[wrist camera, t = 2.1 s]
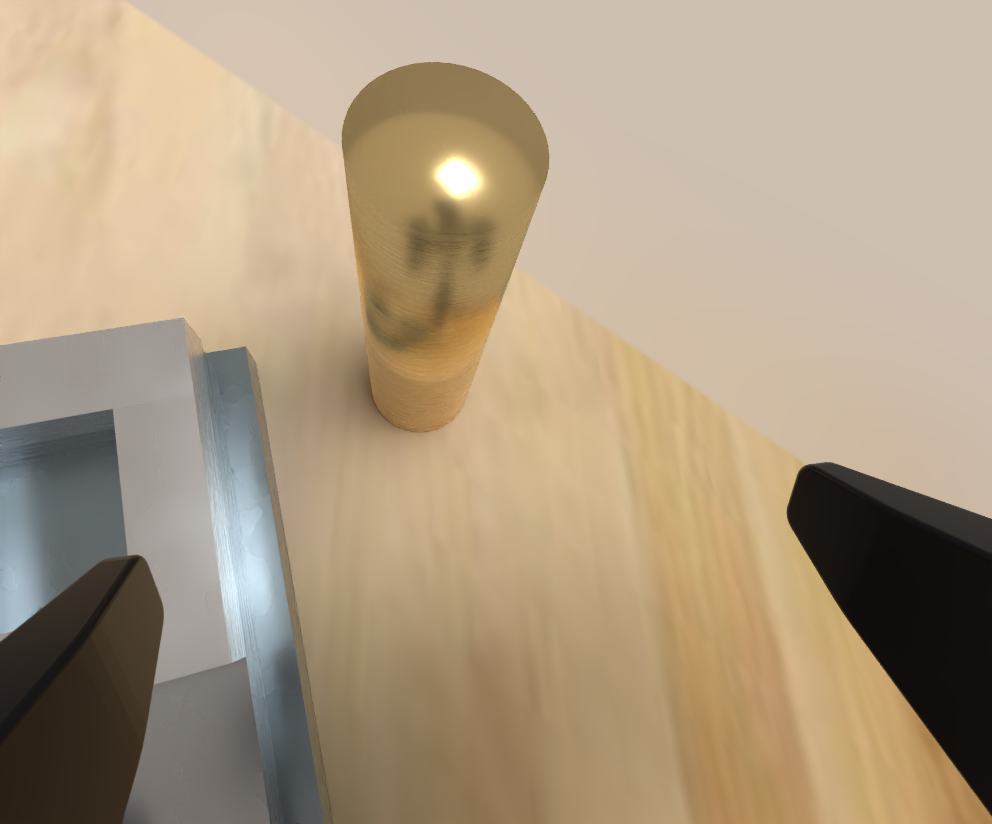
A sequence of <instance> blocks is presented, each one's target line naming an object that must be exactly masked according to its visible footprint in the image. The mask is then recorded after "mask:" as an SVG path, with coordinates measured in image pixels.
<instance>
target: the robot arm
mask: <svg viewBox="0 0 992 824" xmlns="http://www.w3.org/2000/svg"><path fill="white" fill-rule="evenodd" d="M787 519H788V522H789V524H790V526H791V528H792V530H793V531H794V533H795V535H796V536H797V538H798V540H799V541H800V543H801V545H802V546H803V548H804V550H805V551H806V553H807V555H808V556H809V558H810V560H811V561H812V563H813V565H814V566H815V568H816V570H817V571H818V573H819V575H820V576H821V578H822V580H823V581H824V583H825V585H826V586H827V588H828V590H829V591H830V593H831V595H832V596H833V598H834V600H835V601H836V603H837V604H838V606H839V607H840V609H841V611H842V612H843V614H844V615H845V616H846V618H847V619H848V621H849V622H850V624H851V625H852V626H853V628H854V629H855V631H856V632H857V633H858V635H859V636H860V637H861V639H862V640H863V642H864V643H865V644H866V646H867V647H868V648H869V650H870V651H871V652H872V654H873V655H874V657H875V658H876V659H877V661H878V662H879V663H880V665H881V666H882V667H883V669H884V670H885V672H886V673H887V674H888V676H889V677H890V678H891V680H892V681H893V682H894V684H895V685H896V687H897V688H898V689H899V691H900V692H901V693H902V695H903V696H904V698H905V699H906V700H907V702H908V703H909V704H910V706H911V707H912V708H913V710H914V711H915V713H916V714H917V715H918V717H919V718H920V719H921V721H922V722H923V723H924V725H925V726H926V728H927V729H928V730H929V732H930V733H931V734H932V736H933V737H934V738H935V740H936V741H937V743H938V744H939V745H940V747H941V748H942V749H943V751H944V752H945V753H946V755H947V756H948V758H949V759H950V760H951V762H952V763H953V764H954V766H955V767H956V768H957V770H958V771H959V773H960V774H961V775H962V777H963V778H964V779H965V781H966V782H967V784H968V785H969V786H970V788H971V789H972V790H973V792H974V793H975V794H976V796H977V797H978V799H979V800H980V801H981V803H982V804H983V805H984V807H985V808H986V809H987V811H988V812H989V814H990V815H991V816H992V519H991V518H987V517H985V516H982V515H979V514H976V513H974V512H971V511H968V510H965V509H962V508H959V507H957V506H954V505H951V504H948V503H945V502H942V501H940V500H937V499H934V498H931V497H928V496H926V495H923V494H920V493H917V492H914V491H911V490H908V489H906V488H903V487H900V486H897V485H894V484H891V483H889V482H886V481H883V480H880V479H877V478H875V477H872V476H869V475H866V474H863V473H860V472H858V471H855V470H852V469H849V468H846V467H844V466H841V465H838V464H835V463H831V462H824V463H817V464H809V465H806V466H804V467H802V468H801V469H800V471H799V472H798V474H797V478H796V481H795V484H794V487H793V490H792V493H791V497H790V500H789V503H788V506H787ZM163 623H164V608H163V603H162V600H161V597H160V594H159V592H158V589H157V586H156V584H155V581H154V578H153V576H152V573H151V570H150V568H149V565H148V563H147V561H146V560H145V558H144V557H142V556H140V555H128V556H121V557H113V558H107V559H104V560H102V561H100V562H99V563H97V564H96V565H95V566H93V567H92V568H91V569H90V570H88V571H87V572H86V573H85V574H83V575H82V576H81V577H80V578H78V579H77V580H76V581H75V582H73V583H72V584H71V585H70V586H68V587H67V588H66V589H65V590H63V591H62V592H61V593H60V594H59V595H57V596H56V597H55V598H54V599H52V600H51V601H50V602H49V603H47V604H46V605H45V606H44V607H42V608H41V609H40V610H39V611H37V612H36V613H35V614H34V615H32V616H31V617H30V618H29V619H27V620H26V621H25V622H24V623H22V624H21V625H20V626H19V627H17V628H16V629H15V630H14V631H12V632H11V633H10V634H9V635H7V636H6V637H5V638H4V639H3V640H1V641H0V824H122V822H123V818H124V815H125V811H126V808H127V804H128V801H129V797H130V793H131V790H132V786H133V783H134V779H135V776H136V772H137V769H138V765H139V761H140V757H141V753H142V749H143V744H144V739H145V734H146V728H147V722H148V716H149V710H150V704H151V698H152V692H153V685H154V679H155V673H156V667H157V661H158V654H159V648H160V642H161V636H162V630H163Z"/></svg>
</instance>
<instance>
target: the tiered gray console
mask: <svg viewBox="0 0 992 824" xmlns="http://www.w3.org/2000/svg"><path fill="white" fill-rule="evenodd" d="M128 555H140V556H142V557H144V558H145V560H146V561H147V563H148V565H149V568H150V570H151V573H152V576H153V578H154V581H155V584H156V586H157V589H158V592H159V594H160V597H161V600H162V603H163V608H164V623H163V630H162V636H161V642H160V648H159V654H158V661H157V667H156V673H155V679H154V685H153V692H152V698H151V704H150V710H149V716H148V722H147V728H146V734H145V739H144V744H143V749H142V753H141V757H140V761H139V765H138V769H137V772H136V776H135V779H134V783H133V786H132V790H131V793H130V797H129V801H128V804H127V808H126V811H125V815H124V818H123V822H122V824H333V822H332V816H331V810H330V804H329V798H328V792H327V786H326V780H325V774H324V768H323V762H322V756H321V750H320V744H319V738H318V732H317V726H316V720H315V714H314V708H313V702H312V696H311V690H310V684H309V678H308V672H307V666H306V660H305V654H304V648H303V642H302V636H301V630H300V624H299V618H298V612H297V606H296V600H295V594H294V588H293V582H292V576H291V570H290V564H289V558H288V552H287V546H286V540H285V534H284V528H283V522H282V516H281V510H280V504H279V498H278V492H277V486H276V480H275V474H274V468H273V462H272V456H271V450H270V444H269V438H268V433H267V427H266V421H265V415H264V409H263V403H262V397H261V391H260V385H259V379H258V373H257V367H256V362H255V361H254V359H253V358H252V356H251V354H250V353H249V351H248V350H247V348H246V347H241V348H235V349H229V350H223V351H217V352H211V353H205V352H204V351H203V349H202V347H201V340H200V338H199V337H198V336H197V334H196V333H195V332H194V331H193V329H192V328H191V327H190V325H189V324H188V323H187V322H186V320H185V319H184V318H179V319H172V320H166V321H159V322H153V323H146V324H139V325H133V326H126V327H120V328H113V329H107V330H100V331H93V332H87V333H80V334H74V335H67V336H60V337H54V338H47V339H41V340H34V341H28V342H21V343H14V344H8V345H1V346H0V641H1V640H3V639H4V638H5V637H6V636H7V635H9V634H10V633H11V632H12V631H14V630H15V629H16V628H17V627H19V626H20V625H21V624H22V623H24V622H25V621H26V620H27V619H29V618H30V617H31V616H32V615H34V614H35V613H36V612H37V611H39V610H40V609H41V608H42V607H44V606H45V605H46V604H47V603H49V602H50V601H51V600H52V599H54V598H55V597H56V596H57V595H59V594H60V593H61V592H62V591H63V590H65V589H66V588H67V587H68V586H70V585H71V584H72V583H73V582H75V581H76V580H77V579H78V578H80V577H81V576H82V575H83V574H85V573H86V572H87V571H88V570H90V569H91V568H92V567H93V566H95V565H96V564H97V563H99V562H100V561H102V560H104V559H107V558H113V557H121V556H128Z"/></svg>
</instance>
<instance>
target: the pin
mask: <svg viewBox="0 0 992 824" xmlns="http://www.w3.org/2000/svg"><path fill="white" fill-rule="evenodd" d="M342 149H343V157H344V165H345V173H346V182H347V190H348V198H349V207H350V215H351V223H352V232H353V240H354V248H355V257H356V265H357V273H358V282H359V290H360V298H361V307H362V315H363V323H364V331H365V340H366V348H367V356H368V365H369V373H370V381H371V390H372V396H373V399H374V402H375V404H376V407H377V408H378V410H379V411H380V413H381V414H382V415H383V416H384V417H385V418H386V419H387V420H388V421H389V422H391V423H392V424H394V425H395V426H397V427H399V428H402V429H405V430H409V431H414V432H426V431H431V430H435V429H438V428H440V427H442V426H444V425H446V424H448V423H449V422H450V421H451V420H453V419H454V417H455V416H456V415H457V414H458V413H459V411H460V410H461V408H462V406H463V404H464V401H465V398H466V396H467V393H468V390H469V388H470V385H471V382H472V379H473V377H474V374H475V371H476V369H477V366H478V363H479V360H480V358H481V355H482V352H483V350H484V347H485V344H486V341H487V339H488V336H489V333H490V331H491V328H492V325H493V322H494V320H495V317H496V314H497V312H498V309H499V306H500V303H501V301H502V298H503V295H504V293H505V290H506V287H507V284H508V282H509V279H510V276H511V273H512V271H513V268H514V265H515V263H516V260H517V257H518V254H519V252H520V249H521V246H522V243H523V241H524V238H525V235H526V233H527V230H528V227H529V224H530V222H531V219H532V216H533V214H534V211H535V208H536V206H537V203H538V200H539V197H540V194H541V192H542V189H543V187H544V184H545V181H546V178H547V173H548V169H549V151H548V144H547V140H546V136H545V133H544V131H543V128H542V126H541V124H540V122H539V120H538V118H537V117H536V115H535V113H533V111H532V109H531V108H530V107H529V105H528V104H527V103H526V102H525V101H524V100H523V99H522V98H521V97H520V96H519V95H518V94H517V93H516V92H514V91H513V90H512V89H511V88H510V87H508V86H506V85H505V84H504V83H502V82H501V81H499V80H497V79H496V78H494V77H492V76H490V75H488V74H486V73H483V72H481V71H478V70H476V69H472V68H469V67H465V66H461V65H456V64H450V63H439V62H433V63H431V62H428V63H417V64H411V65H407V66H403V67H399V68H396V69H394V70H391V71H389V72H387V73H385V74H383V75H381V76H379V77H377V78H376V79H375V80H373V81H372V82H370V83H369V84H368V85H367V86H366V87H365V88H364V89H362V90H361V91H360V93H359V94H358V95H357V96H356V98H355V99H354V100H353V102H352V104H351V106H350V108H349V109H348V111H347V114H346V117H345V120H344V124H343V130H342Z"/></svg>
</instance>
